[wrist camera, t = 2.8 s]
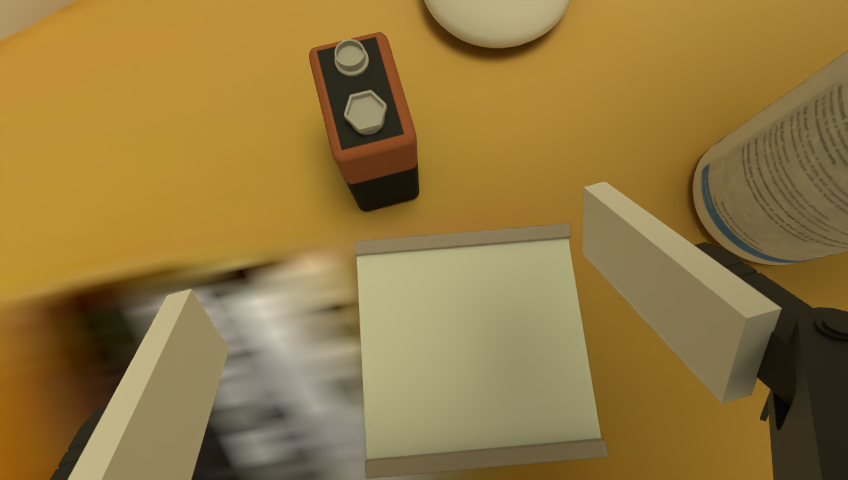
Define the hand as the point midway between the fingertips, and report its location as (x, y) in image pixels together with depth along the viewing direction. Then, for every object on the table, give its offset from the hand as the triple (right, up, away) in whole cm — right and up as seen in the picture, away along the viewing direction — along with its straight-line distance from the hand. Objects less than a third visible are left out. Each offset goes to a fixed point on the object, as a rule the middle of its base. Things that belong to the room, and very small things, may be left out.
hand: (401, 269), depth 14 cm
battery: (-2, +6, +17) cm, 18 cm away
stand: (+4, -6, +13) cm, 15 cm away
